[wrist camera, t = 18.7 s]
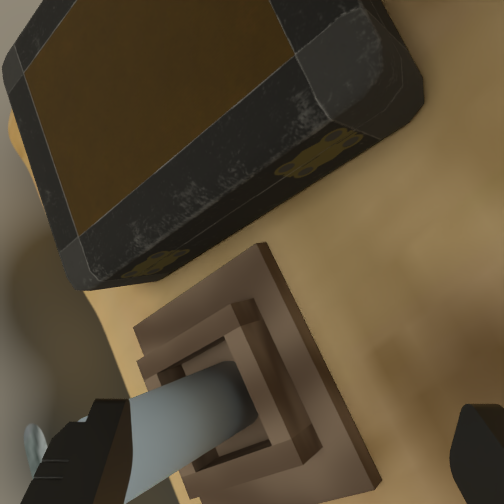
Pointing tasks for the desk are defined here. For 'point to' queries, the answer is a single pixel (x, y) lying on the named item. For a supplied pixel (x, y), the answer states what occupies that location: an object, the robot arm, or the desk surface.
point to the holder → (259, 389)
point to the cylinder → (185, 422)
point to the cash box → (194, 118)
